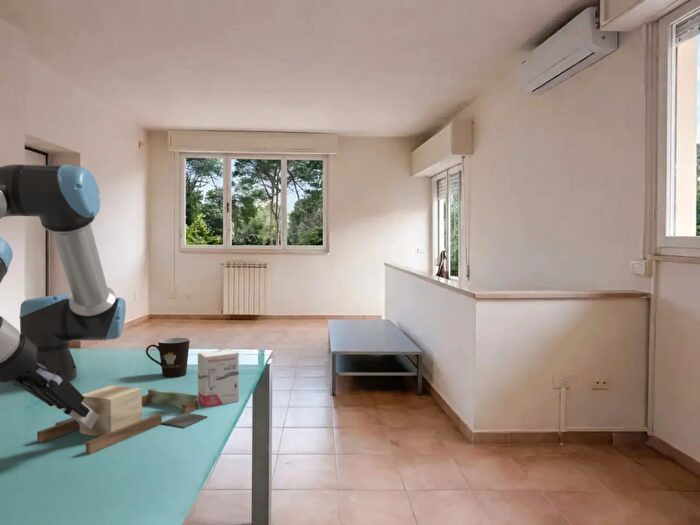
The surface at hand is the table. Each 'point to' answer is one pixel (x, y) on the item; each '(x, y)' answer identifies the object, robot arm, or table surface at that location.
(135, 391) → the beech block
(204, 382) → the ink box
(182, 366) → the coffee mug
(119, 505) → the table surface
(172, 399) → the channel
